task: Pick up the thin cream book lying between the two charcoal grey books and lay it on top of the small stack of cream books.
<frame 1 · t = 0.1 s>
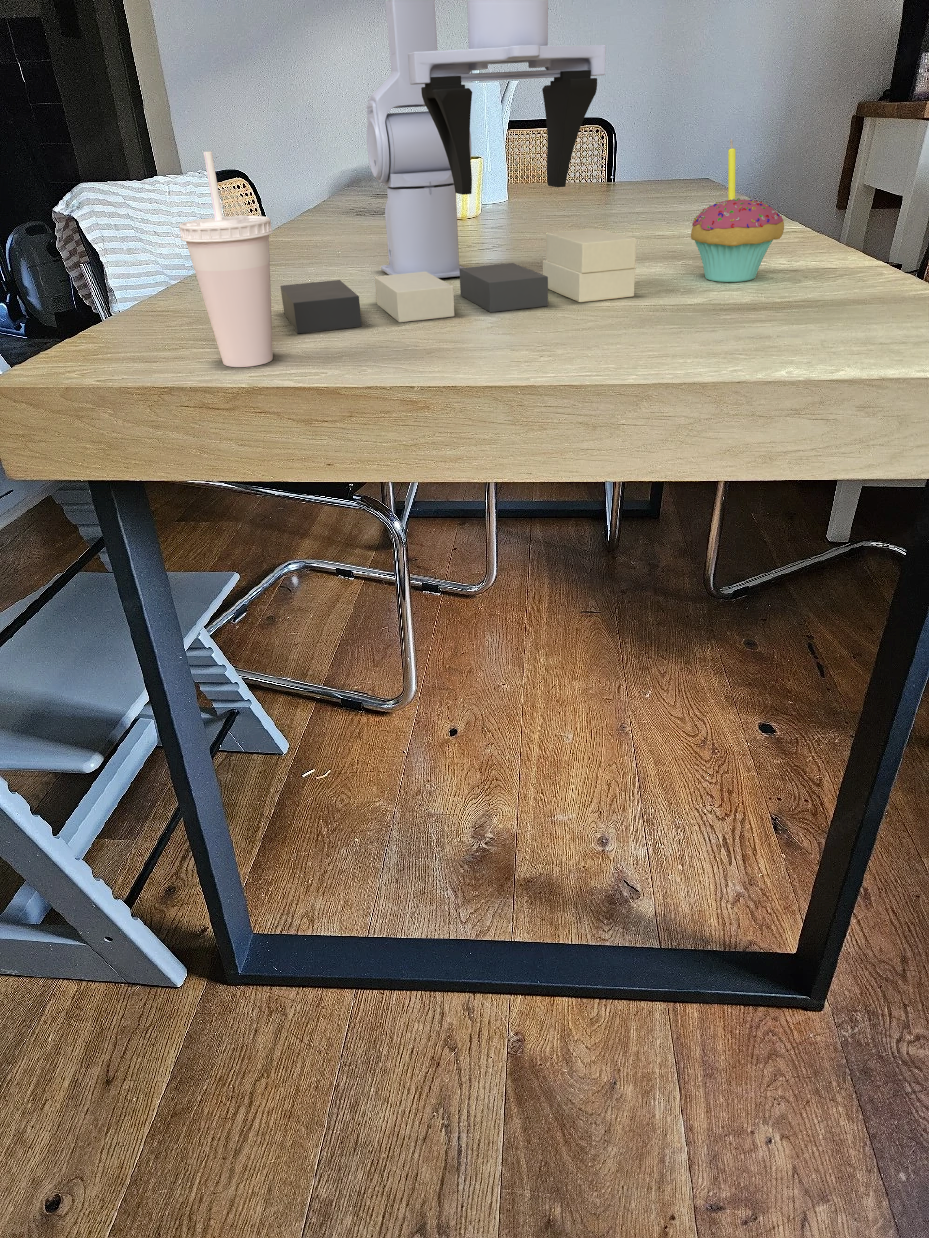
hand: (510, 190, 69), 10 cm above the table, tool pointing down, fingers open, 7 cm apart
smoothie: (248, 363, 67), on the table
grey book b: (502, 300, 82), on the table
cupcake: (731, 280, 87), on the table
cream stack: (586, 291, 84), on the table
cream book: (414, 310, 80), on the table
grey book a: (321, 320, 78), on the table
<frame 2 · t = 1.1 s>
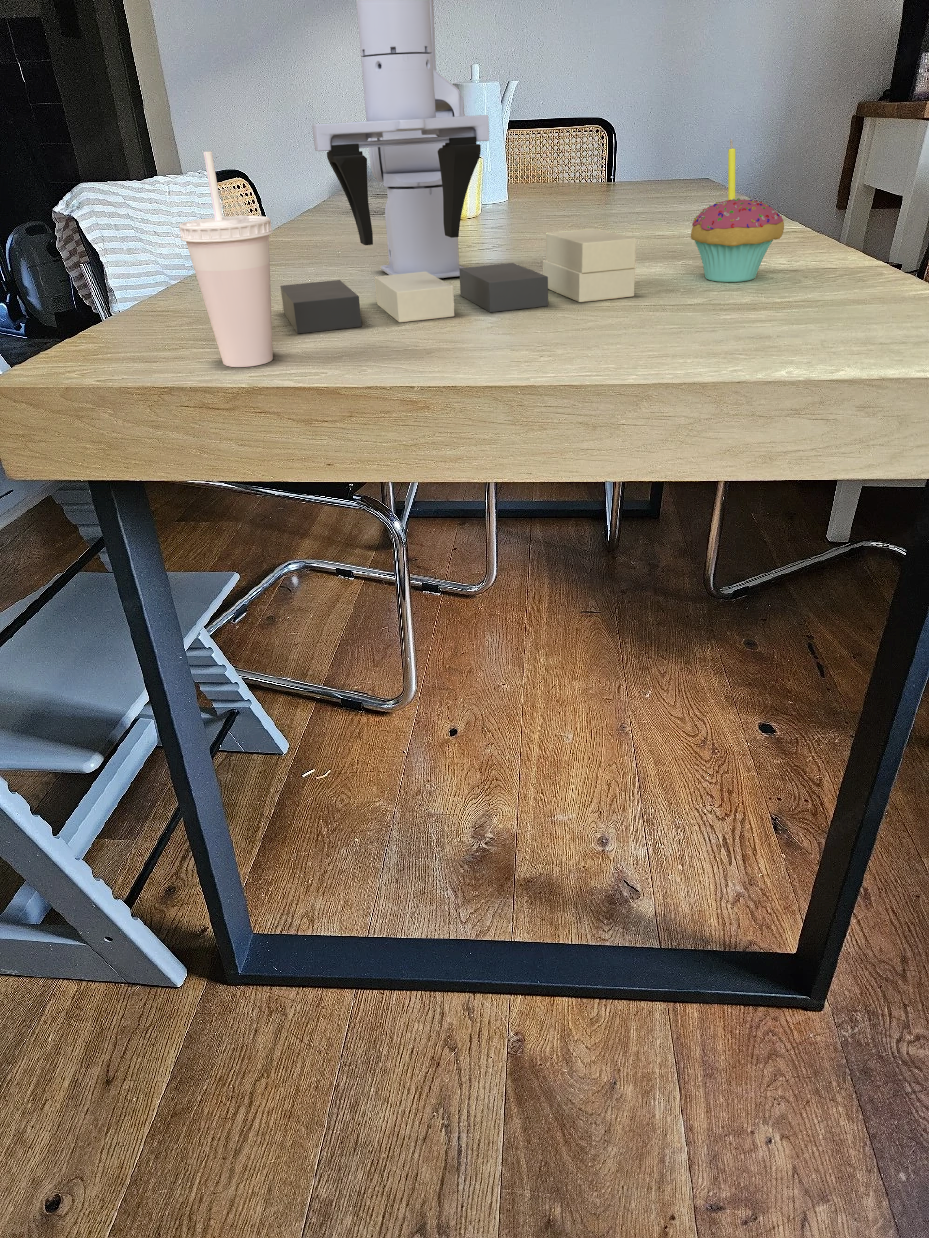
hand: (409, 240, 77), 6 cm above the table, tool pointing down, fingers open, 7 cm apart
nothing on the table moved.
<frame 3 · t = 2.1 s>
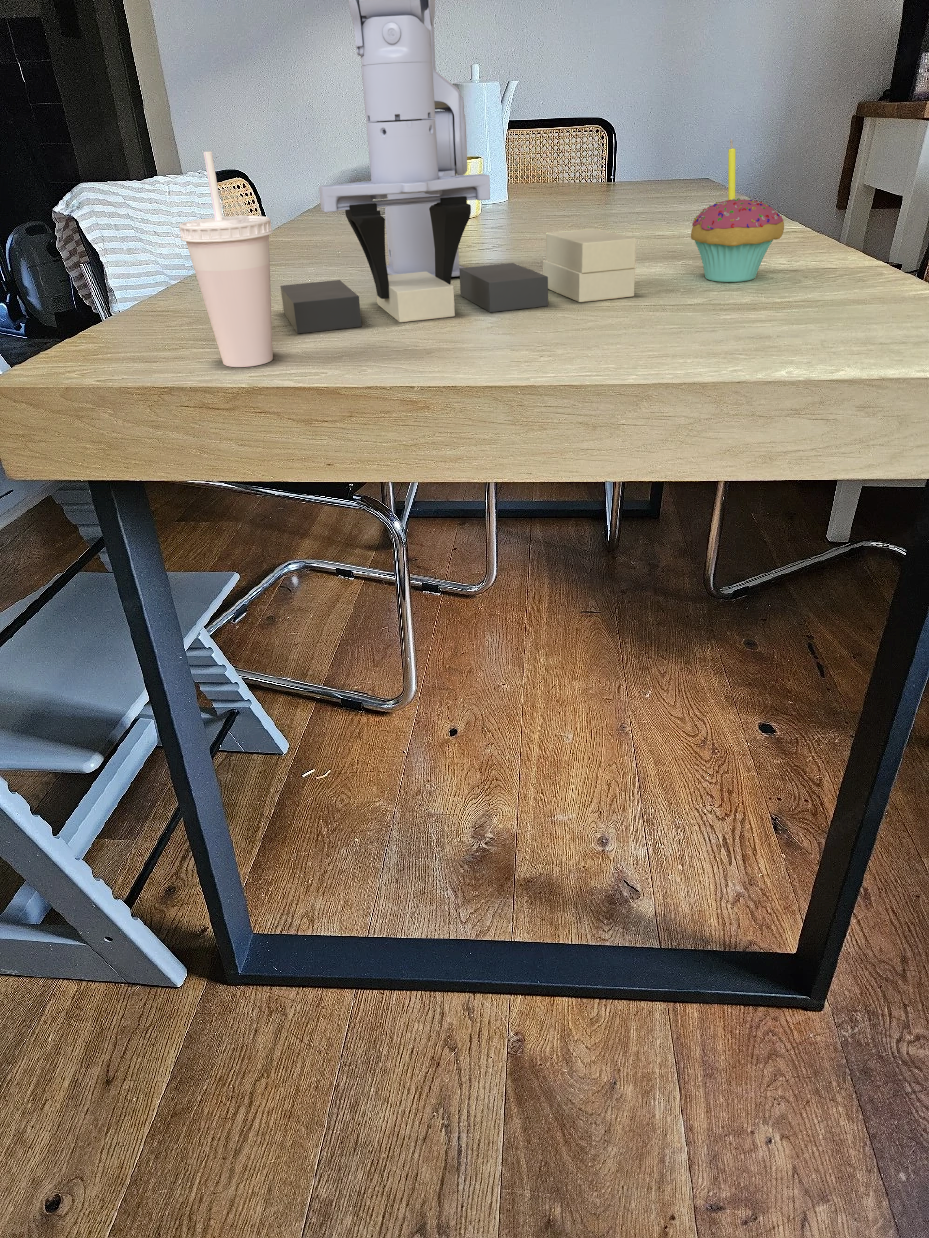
hand: (413, 294, 80), 1 cm above the table, tool pointing down, fingers closed on cream book, 5 cm apart
cream book: (414, 310, 80), on the table, touching gripper
everything else where it was.
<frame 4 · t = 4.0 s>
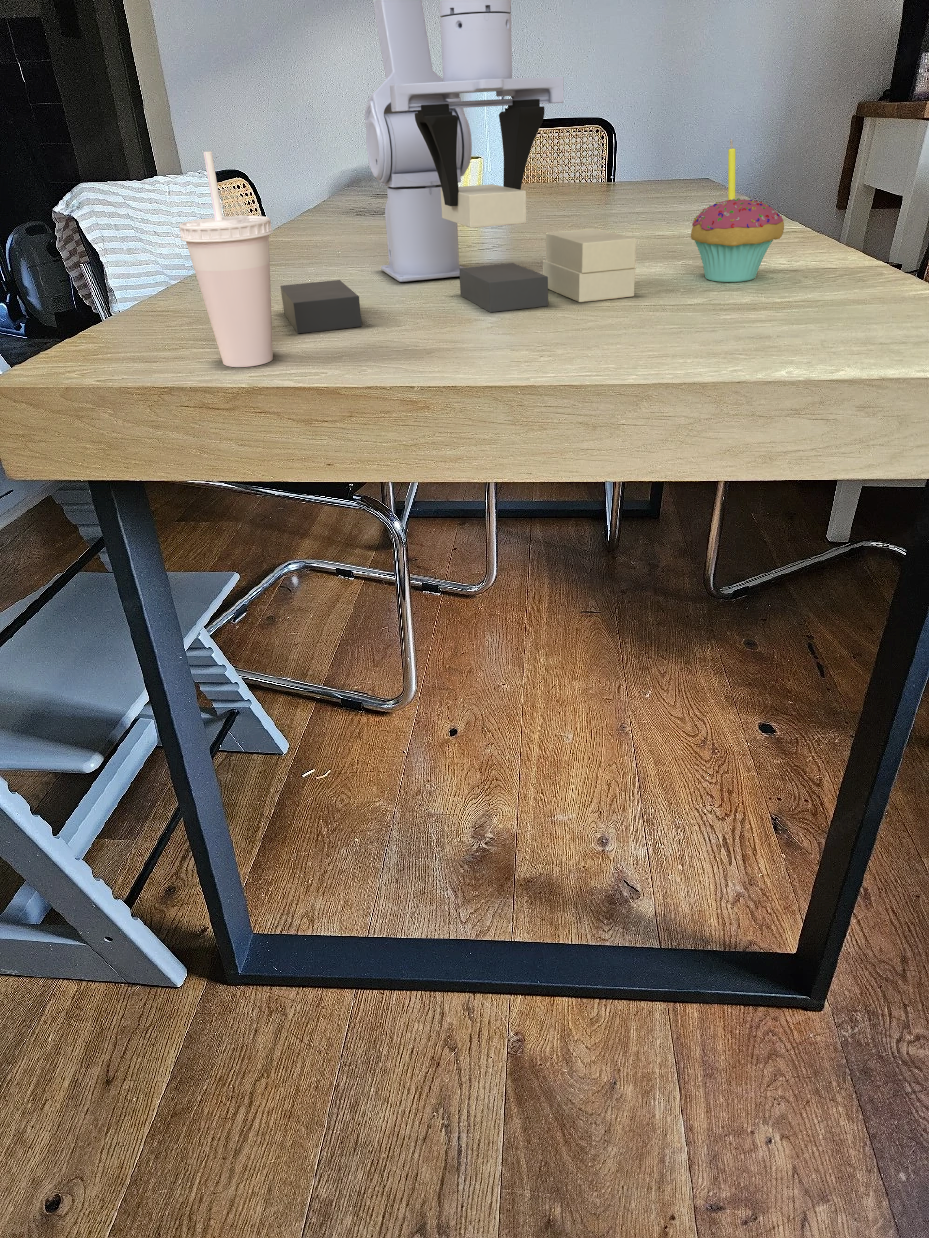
hand: (481, 203, 78), 8 cm above the table, tool pointing down, fingers closed on cream book, 5 cm apart
cream book: (482, 220, 79), point 7 cm above the table, touching gripper
everything else where it was.
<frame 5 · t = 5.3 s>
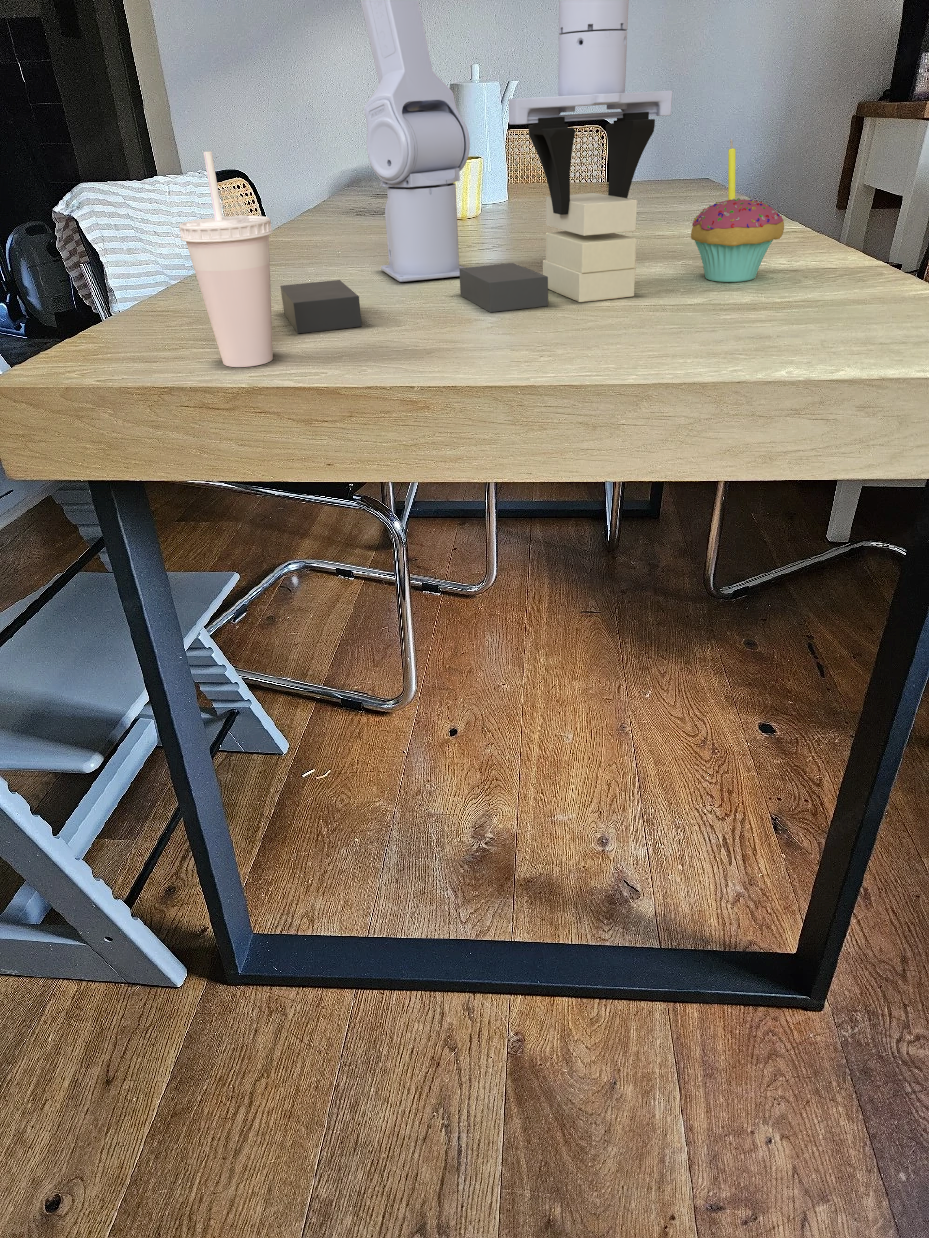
hand: (588, 211, 81), 7 cm above the table, tool pointing down, fingers closed on cream book, 5 cm apart
cream book: (589, 228, 82), point 6 cm above the table, touching gripper
everything else where it was.
when the fingers open (6 cm above the table, at t = 6.0 s): cream book stays where it is, resting on cream stack.
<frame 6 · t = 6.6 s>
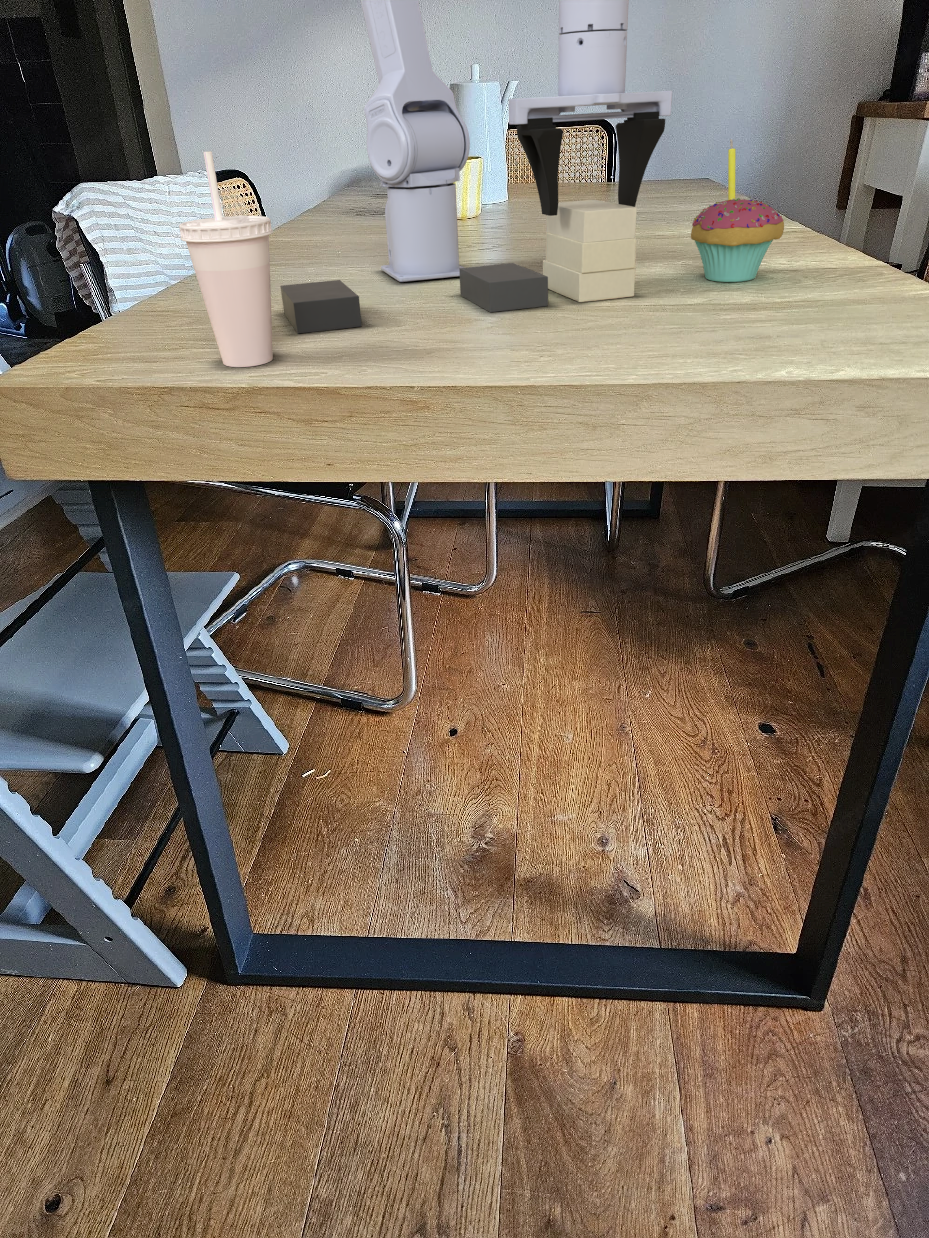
hand: (588, 211, 81), 7 cm above the table, tool pointing down, fingers open, 7 cm apart
cream book: (588, 235, 82), point 5 cm above the table, touching cream stack
everything else where it was.
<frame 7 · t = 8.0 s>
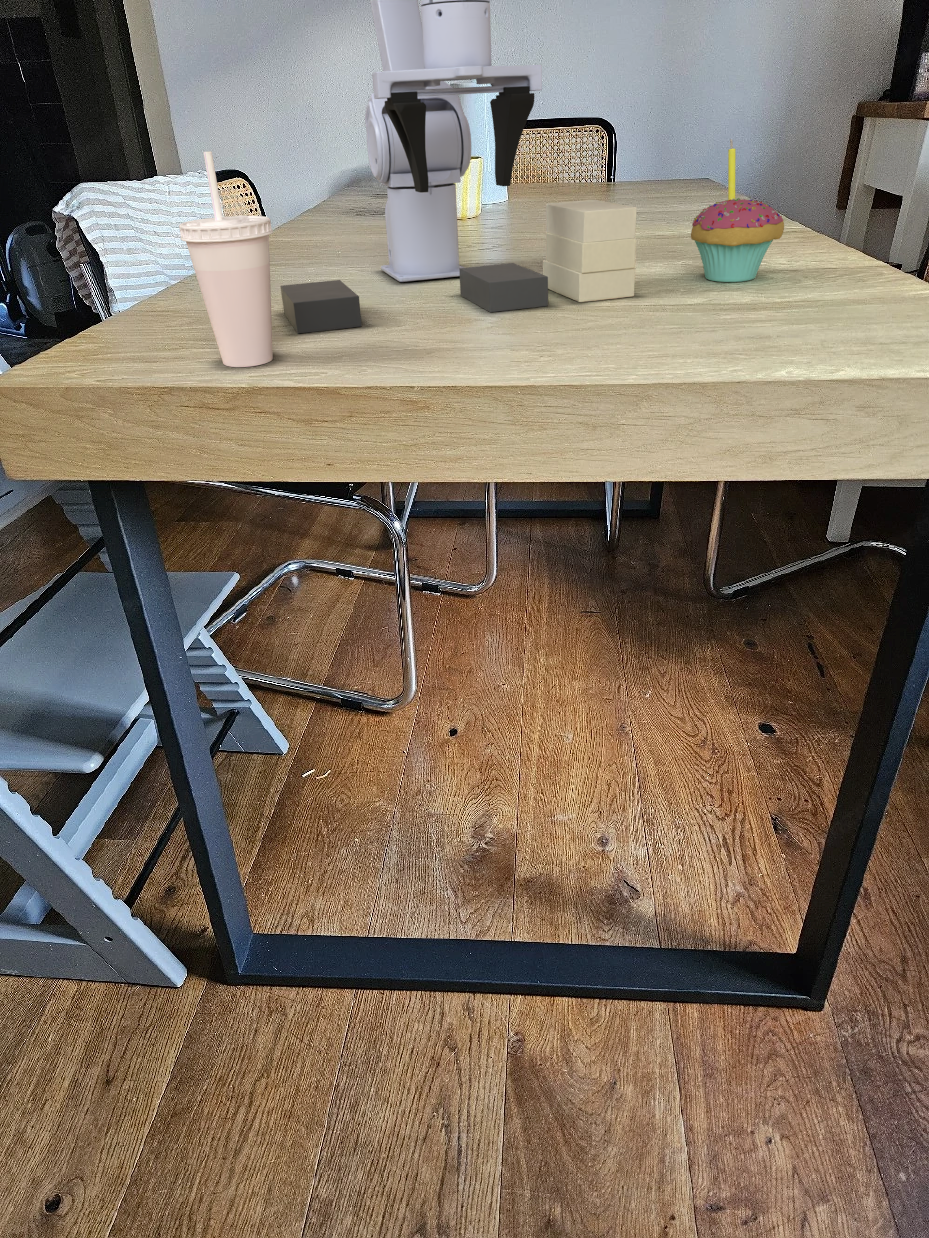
hand: (462, 188, 80), 9 cm above the table, tool pointing down, fingers open, 7 cm apart
nothing on the table moved.
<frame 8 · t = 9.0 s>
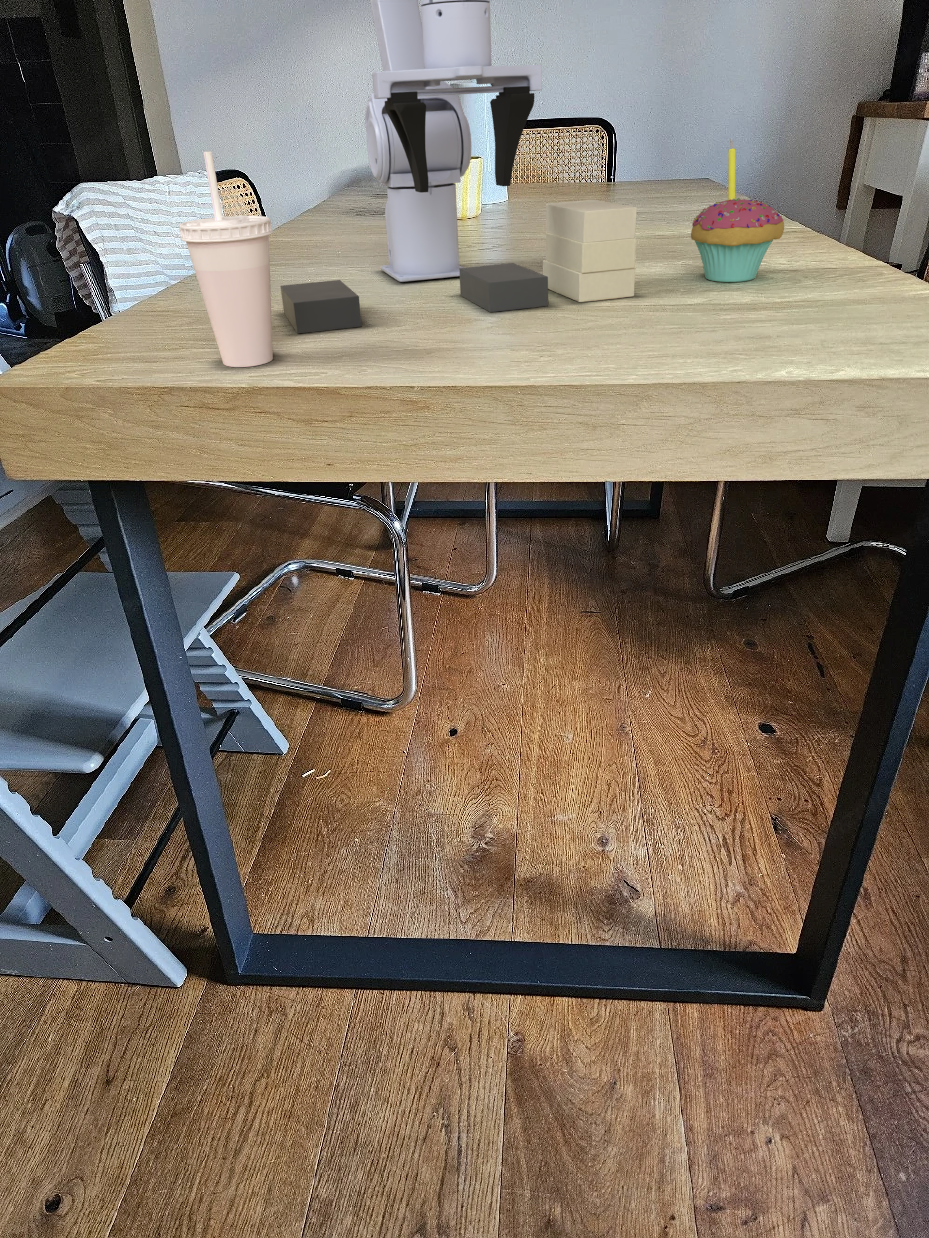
hand: (462, 188, 80), 9 cm above the table, tool pointing down, fingers open, 7 cm apart
nothing on the table moved.
at the end: cream book 0.1 cm off-centre on the cream stack, point 5.0 cm above the cream stack's base; cream book tilted 0°; the gripper is holding nothing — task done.
